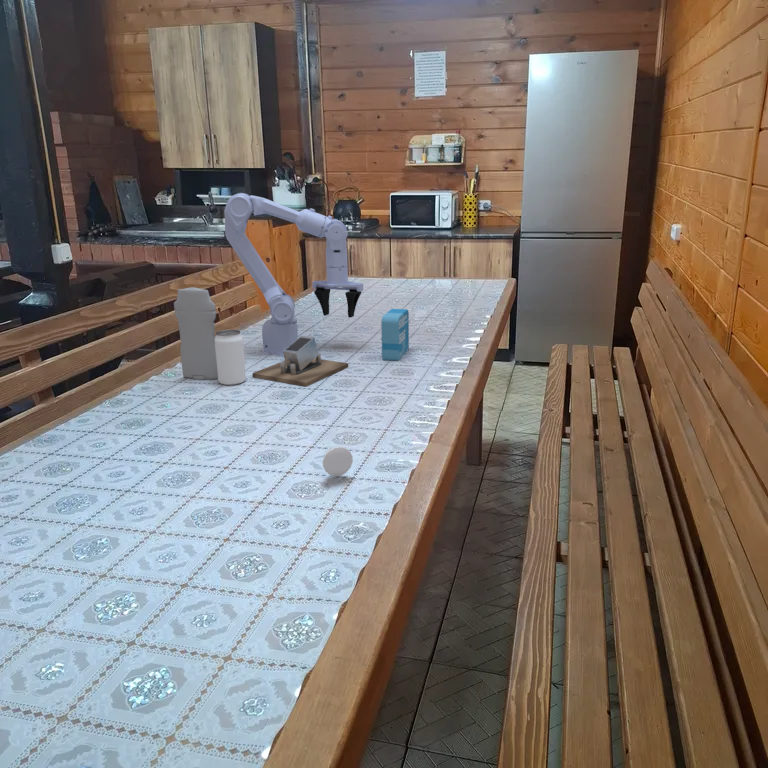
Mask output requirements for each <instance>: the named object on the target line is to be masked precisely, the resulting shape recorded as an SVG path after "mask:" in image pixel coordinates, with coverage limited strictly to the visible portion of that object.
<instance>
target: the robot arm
mask: <svg viewBox="0 0 768 768" xmlns="http://www.w3.org/2000/svg"><path fill="white" fill-rule="evenodd" d="M252 214H253V216H260V215H269V216H273V217H275V218H279V219H282V220H285V221H287V222H290V223H294V224H295V225H296V227H297V229H298V230H299V231H300V232H304V233H306V234H310V235H312V236H315V237H316V238H320V239H321V238H325V239H326V241H325V242H326V244H325V245H326V247H325V267H326V270H325V271H326V280H313V281H312V282H311V283H312V289H313V290H314V294H313V295H315V297H316V299H317V300H318V303H319V306H320V307H321V311H322V315H323V316H324V317H325V316H328V315H330V294H331V290H337V291H339V290H340V291H346V292H345V294H344V295H345V297H346V303H347V316H348V318H350V319H351V318H354V316H355V313H356V307H357V304H358V301H359V299H360V296H361V294H362V291H364V283H362V282H355V281H354V282H353V281H349V275H348V273H349V272H348V270H349V269H348V267H349V266H348V264H349V263H348V249H347V243H348V242H347V238H348V235H349V232H348V229H347V227H346V225H345V224H344V223H343V221H341V220H338V219H337V218H333V216H331V215H328V216H326V215H324V214H321V213H317V212H316V210H315V209H314V208H309V209H308V208H304V209H302V210H300V211H297V210H296V209H293V208H290V207H288V206H285V205H283V204H280V203H278V202H275V201H272V200H270V199H268V198H265V197H262V196H257V195H253V194H252V195H249V194H248V193H244V192H238V193H236V194H233V195H231V196H230V197H229V198H228V200H227V202H226V205H225V207H224V214H223V215H224V236H225V238H226V240H227V241H228V244H230V246H231V247H232V249H233V250H234V252H235V254H236V255H237V256H238V258H239V260H240V261H241V262H242V264H243V266H244V268H245V269H246V270H247V273H249V274H250V276H251V278H252V280H253V281H254V282H255V284H256V285H257V287H258V288H259V290H260V292H261V294H263V297H264V298H265V301H266V303H267V305H268V307H269V309H270V315H271V318H270V319H268V320H266V321H264V323H263V325H262V328H261V335H262V336H261V337H262V351H261V353H262V354H270V355H276V356H281V357H284V354H283V351H284V350H285V349H286V348H287V347H289V346H290V345H291V344H292V343H293V342H295V341H296V340H297V339H298V338H299V336H298V335H299V333H298V332H299V331H298V318H297V317H295V311H296V309H295V308H296V307H295V306H296V304H295V300H294V299H293V297H292V296H291V295H289V294H287V293H286V292H285V291H284V290H283V288H282V287H281V286H280V285H279V283H278V282H277V281H276V279H275V277H274V276H273V274H272V272H271V271H270V270H269V268H268V267H267V265H266V264H265V262H264V261H263V259H262V257H261V256H260V254H259V253H258V252H257V249H256V248H255V246H254V245H253V243H252V242H251V240H250V239H249V238H248V236H247V234H246V229H247V227H248V226H247V225H248V221H249V219H250V218H251V217H252Z"/></svg>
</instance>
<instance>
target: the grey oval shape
mask: <svg viewBox="0 0 768 768" xmlns="http://www.w3.org/2000/svg"><path fill="white" fill-rule="evenodd" d="M353 462H354V459H353V455H352V453H351V451H350V450H349V449H348V448H346V447H344V446H335V447H330V448H328V449H327V451H326V452H325V454H324V457H323V459H322V467H323V469H324V471H325V473H327V474H328V475H330V476H331V477H340V476H343V475H345V474H346V473H347V472H348V471H349V470H350V469H351V468H352V465H353Z"/></svg>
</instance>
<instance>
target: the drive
mask: <svg viewBox="0 0 768 768" xmlns="http://www.w3.org/2000/svg"><path fill="white" fill-rule="evenodd" d="M283 354H284V356H283V358H284V361H285V362H286V366H287V369H290V364H295V368H296V371H301V370H302V369H304V368H305V367H306V366H307V365H308V364H309V363H310V362H311V361H312V360H314V359H315V358H316V357H317V356H318V355H319V354H320V353H319V351H318V346H317V341H316V338H315V337H314V336H306V335H300V337H299V336H298V339H297V340H296V341H295V342H293V343H292V344H291V345H290V346H289V347H287V348H286V349H285V350H284V351H283ZM290 370H291V369H290Z"/></svg>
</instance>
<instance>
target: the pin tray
mask: <svg viewBox="0 0 768 768" xmlns="http://www.w3.org/2000/svg"><path fill="white" fill-rule="evenodd" d="M318 354H319V355H318V356H317V357H316V358H315V359H314V360H312V361H311V362H310V363H309V364H308V365H307V366H306V367H305V368H304V369H302V370H301V371H296V368H295V364H290V369H291V370H290V369H287V366H286V362H285V360H281V362H278V363H275V364H272V365H270V366H266V367H265V368H261V369H259V370H257V371H255V372H252V378H256V379H261V380H267V381H272V382H277V383H278V382H279V383H283V384H290V385H296V386H300V387H308V386H310V385H312V384H315V383H317V382H320V381H322V380H324V379H326V378H328V377H330V376H332V375H334V374H337V373H339V372H342V371H343V370H345V369H348V368H349V363H347V362H342V361H334V360H329V359H322V356H321V353H318Z"/></svg>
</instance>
